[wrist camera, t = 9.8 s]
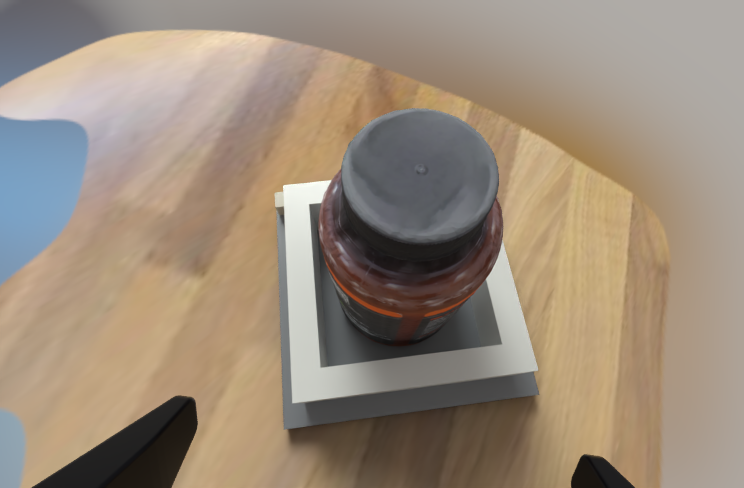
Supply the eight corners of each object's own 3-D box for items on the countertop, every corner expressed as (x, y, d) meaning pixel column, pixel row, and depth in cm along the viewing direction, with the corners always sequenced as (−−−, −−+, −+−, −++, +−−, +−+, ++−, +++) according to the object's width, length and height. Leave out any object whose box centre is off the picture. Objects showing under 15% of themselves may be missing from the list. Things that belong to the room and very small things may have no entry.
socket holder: (532, 394, 19) (570, 393, 15) (287, 428, 18) (267, 434, 15) (477, 184, 23) (496, 146, 20) (279, 206, 23) (262, 170, 19)
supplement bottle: (468, 263, 20) (572, 121, 10) (428, 369, 18) (505, 332, 8) (367, 221, 21) (364, 50, 11) (318, 318, 19) (256, 224, 9)
